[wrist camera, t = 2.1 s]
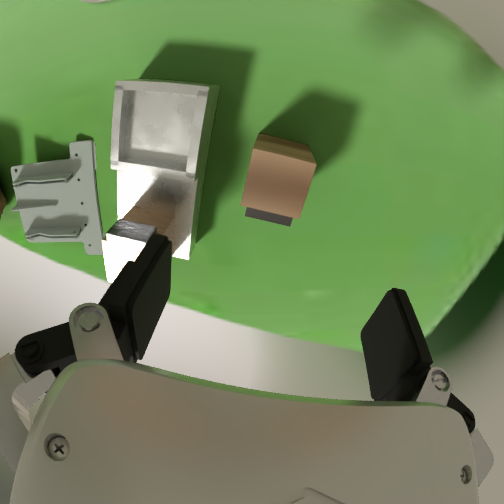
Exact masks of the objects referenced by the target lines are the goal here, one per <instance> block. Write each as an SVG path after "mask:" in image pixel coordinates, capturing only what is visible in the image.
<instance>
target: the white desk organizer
mask: <svg viewBox="0 0 504 504" xmlns="http://www.w3.org/2000/svg"><path fill="white" fill-rule="evenodd" d="M219 90H220V86H218V85H211V84H204V83H195V82H186V81H174V80H160V79H128V80H119V81H116V86H115V95H114V106H113V119H112V137H111V169H116V170H117V201H118V221H117V222H116V223H115V224H114V225H113V226H112V227H111V228H110V229H109V230H108V232H107V233H106V236H105V237H104V238H103V240H102V245H103V253H104V260H105V266H106V273H107V279H108V282H111V283H112V282H113V281H114V279H115V278H116V277H117V275H118V274H119V272H120V271H121V269H122V268H123V266H124V265H125V264H126V262H127V261H129V260H131V261H135V259H136V258H137V256H138V255H139V253H140V252H141V251H142V249H143V248H144V246H145V245H146V243H147V242H148V241H149V239H150V238H151V237H152V235H153V234H154V233H156V234H160V235H165V236H168V240H170V241H172V256H174V257H178V258H183V259H187V260H189V258H190V256H191V254H192V251H193V249H194V247H195V245H196V238H197V230H198V221H199V213H200V206H201V198H202V191H203V184H204V177H205V170H206V164H207V157H208V151H209V145H210V139H211V133H212V127H213V122H214V116H215V111H216V106H217V100H218V95H219ZM171 258H172V257H171Z"/></svg>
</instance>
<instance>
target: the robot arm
mask: <svg viewBox="0 0 504 504" xmlns="http://www.w3.org/2000/svg"><path fill="white" fill-rule="evenodd" d="M81 1H83V2H88V3H98V4H99V3H106V2H110V1H114V0H81ZM171 257H172V241H170V240H168V236H165V235H160V234H156V233H154V234H153V235H152V237H151V238H150V239H149V241H148V242H147V243H146V245H145V246H144V248H143V249H142V251H141V252H140V253H139V255H138V256H137V258H136V259H135V261H131V260H129V261H127V262H126V264H125V265H124V266H123V268H122V269H121V271H120V272H119V274H118V275H117V277H116V278H115V279H114V281H113V282H112V284H111V285H110V287H109V289H108V290H107V291H106V293H105V294H104V296H103V298H102V299H101V301H100V302H99V304H95V303H85V304H82V305H79V306H77V307H76V308H75V309H74V310H73V311H72V312H71V314H70V317H69V322H67V323H64V324H60V325H58V326H54V327H51V328H48V329H45V330H42V331H38V332H35V333H32V334H29V335H27V336H24V337H23V338H22V339H21V340H20V341H19V342H18V344H17V345H16V349H15V353H13V354H12V355H10V353H7V354H6V355H5V356H3V357H2V358H0V450H1V452H2V454H3V455H4V457H5V459H6V461H7V462H8V464H9V465H10V467H11V469H12V470H13V472H14V473H15V480H14V484H13V488H12V493H11V499H10V504H479V498H478V497H479V496H478V487H479V485H480V484H481V483H482V481H483V480H484V478H485V477H486V475H487V474H488V472H489V471H490V469H491V468H492V465H493V461H494V459H493V454H492V452H491V450H490V449H489V447H488V445H487V444H486V442H485V440H484V439H483V437H482V435H481V434H480V432H479V431H478V429H477V428H476V429H475V430H474V428H475V418H474V415H473V413H472V412H471V411H470V409H469V408H467V407H466V406H465V405H464V404H463V403H462V402H461V401H460V400H459V399H458V398H456V397H455V396H454V395H453V394H452V393H451V390H452V381H451V378H450V376H449V375H448V373H447V372H446V371H445V370H444V369H442V368H440V367H433V368H432V369H431V368H430V365H431V364H432V363H433V361H432V358H431V355H430V352H429V349H428V346H427V344H426V341H425V338H424V335H423V333H422V330H421V327H420V325H419V322H418V320H417V317H416V315H415V312H414V310H413V307H412V305H411V303H410V300H409V298H408V296H407V293H406V291H405V290H402V289H397V288H392V289H391V290H389V291H387V293H386V294H385V296H384V297H383V299H382V301H381V302H380V304H379V305H378V307H377V308H376V310H375V311H374V313H373V314H372V316H371V317H370V319H369V320H368V322H367V323H366V325H365V326H364V327H363V329H362V331H361V341H362V346H363V351H364V356H365V362H366V368H367V373H368V379H369V385H370V391H371V397H372V399H374V401H356V400H337V399H325V398H312V397H303V396H294V395H287V394H279V393H272V392H265V391H259V390H253V389H247V388H242V387H236V386H231V385H226V384H221V383H216V382H212V381H207V380H203V379H198V378H194V377H190V376H186V375H181V374H177V373H174V372H170V371H166V370H162V369H159V368H155V367H150V366H146V365H142V364H139V363H136V362H137V360H138V359H139V360H141V359H142V358H143V356H144V354H145V351H146V349H147V346H148V344H149V341H150V339H151V337H152V334H153V332H154V330H155V327H156V325H157V323H158V321H159V318H160V316H161V314H162V311H163V309H164V307H165V305H166V302H167V300H168V298H169V295H170V287H171ZM43 393H46V395H45V397H44V399H43V401H42V403H41V405H40V407H39V410H38V411H37V414H36V416H35V418H34V421H33V423H31V421H30V418H29V411H30V408H31V406H32V405H33V404H34V403H35V402H37V401H38V400H39V398H38V397H39V396H41V395H42V394H43ZM66 439H67V440H66Z"/></svg>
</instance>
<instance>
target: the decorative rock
mask: <svg viewBox="0 0 504 504" xmlns="http://www.w3.org/2000/svg"><path fill="white" fill-rule="evenodd" d="M5 205H6V198H5V197H4V195H3V193H2V191H1V188H0V218H1V214H3V209H4V207H5Z"/></svg>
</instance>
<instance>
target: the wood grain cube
mask: <svg viewBox="0 0 504 504" xmlns="http://www.w3.org/2000/svg"><path fill="white" fill-rule="evenodd" d="M316 165H317V164H316V161H315V159H314V157H313V154H312V152H311V150H310V147H309V145H305V144H301V143H298V142H294V141H290V140H286V139H282V138H278V137H274V136H269V135H265V134H261V133H259V134H258V137H257V139H256V142H255V144H254V147H253V151H252V155H251V160H250V164H249V169H248V173H247V178H246V182H245V187H244V192H243V196H242V201H241V206H245V207H247V209H246V214H245V216H247V217H252V218H256V219H260V220H265V221H269V222H273V223H277V224H282V225H286V226H290V225H291V222H292V219H293V218H296V219H299V218H300V215H301V212H302V209H303V206H304V203H305V200H306V197H307V194H308V190H309V187H310V184H311V181H312V178H313V175H314V172H315V168H316Z"/></svg>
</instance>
